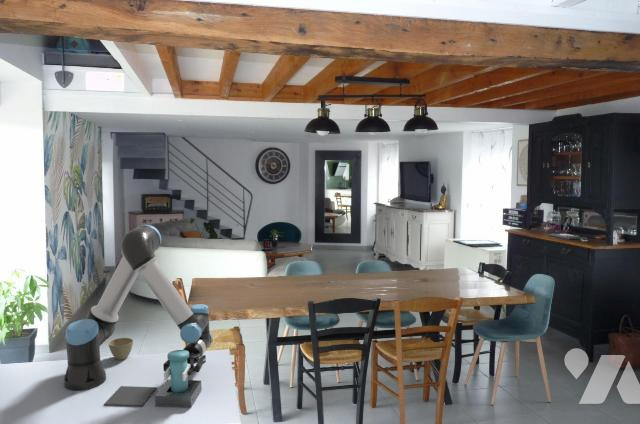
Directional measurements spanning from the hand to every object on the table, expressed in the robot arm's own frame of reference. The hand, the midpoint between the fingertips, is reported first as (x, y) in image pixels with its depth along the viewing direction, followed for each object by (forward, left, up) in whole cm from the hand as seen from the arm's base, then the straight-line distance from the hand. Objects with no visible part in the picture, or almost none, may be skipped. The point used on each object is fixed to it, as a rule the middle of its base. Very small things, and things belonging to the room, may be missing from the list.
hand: (174, 377), depth 194 cm
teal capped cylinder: (0, +5, -9) cm, 11 cm away
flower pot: (-37, +40, -11) cm, 56 cm away
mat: (-18, +5, -10) cm, 22 cm away
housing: (0, +5, -10) cm, 12 cm away
